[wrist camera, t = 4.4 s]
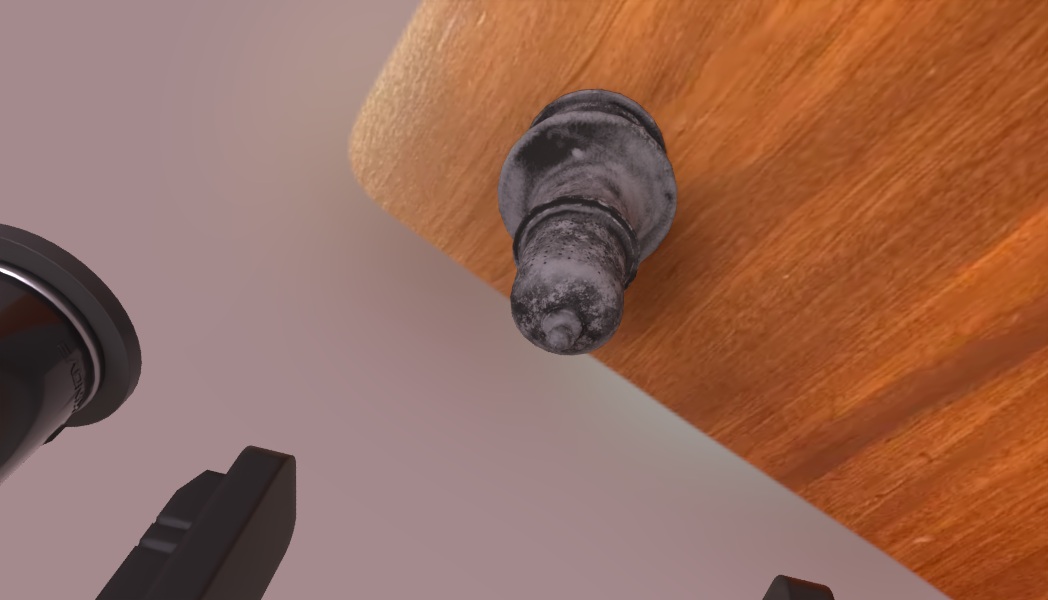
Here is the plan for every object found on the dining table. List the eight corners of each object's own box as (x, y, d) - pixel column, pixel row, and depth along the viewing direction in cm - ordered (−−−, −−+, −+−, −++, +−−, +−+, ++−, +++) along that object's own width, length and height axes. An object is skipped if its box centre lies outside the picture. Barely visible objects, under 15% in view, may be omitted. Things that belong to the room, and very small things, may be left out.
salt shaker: (635, 254, 29) (626, 474, 19) (494, 201, 28) (407, 395, 18) (702, 116, 25) (736, 291, 15) (544, 55, 25) (473, 192, 15)
